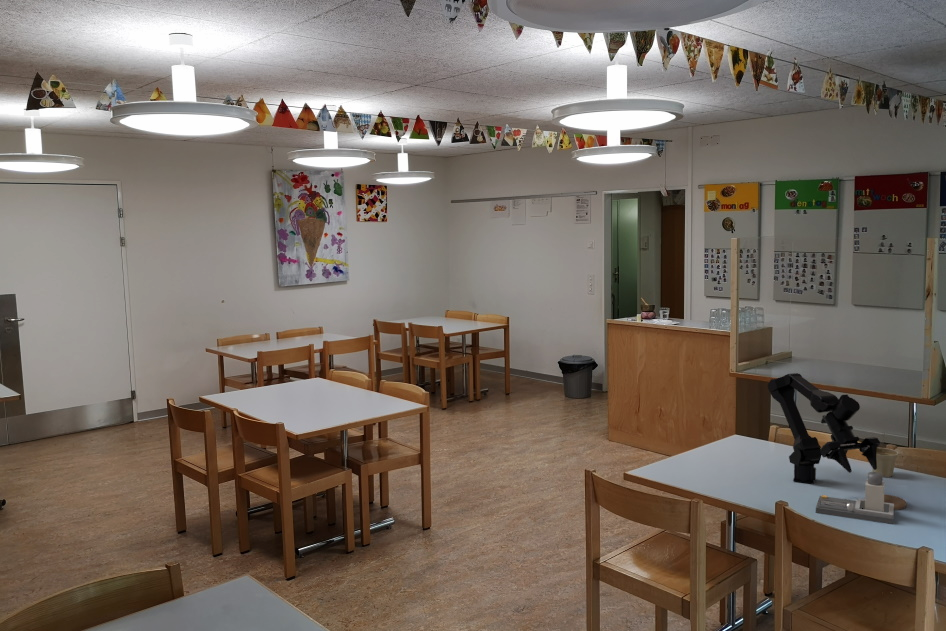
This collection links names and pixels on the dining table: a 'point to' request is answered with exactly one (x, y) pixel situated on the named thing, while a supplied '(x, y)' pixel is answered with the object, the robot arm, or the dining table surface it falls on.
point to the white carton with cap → (874, 492)
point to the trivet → (895, 501)
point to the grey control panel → (856, 510)
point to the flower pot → (885, 461)
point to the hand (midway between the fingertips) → (863, 470)
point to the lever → (837, 504)
